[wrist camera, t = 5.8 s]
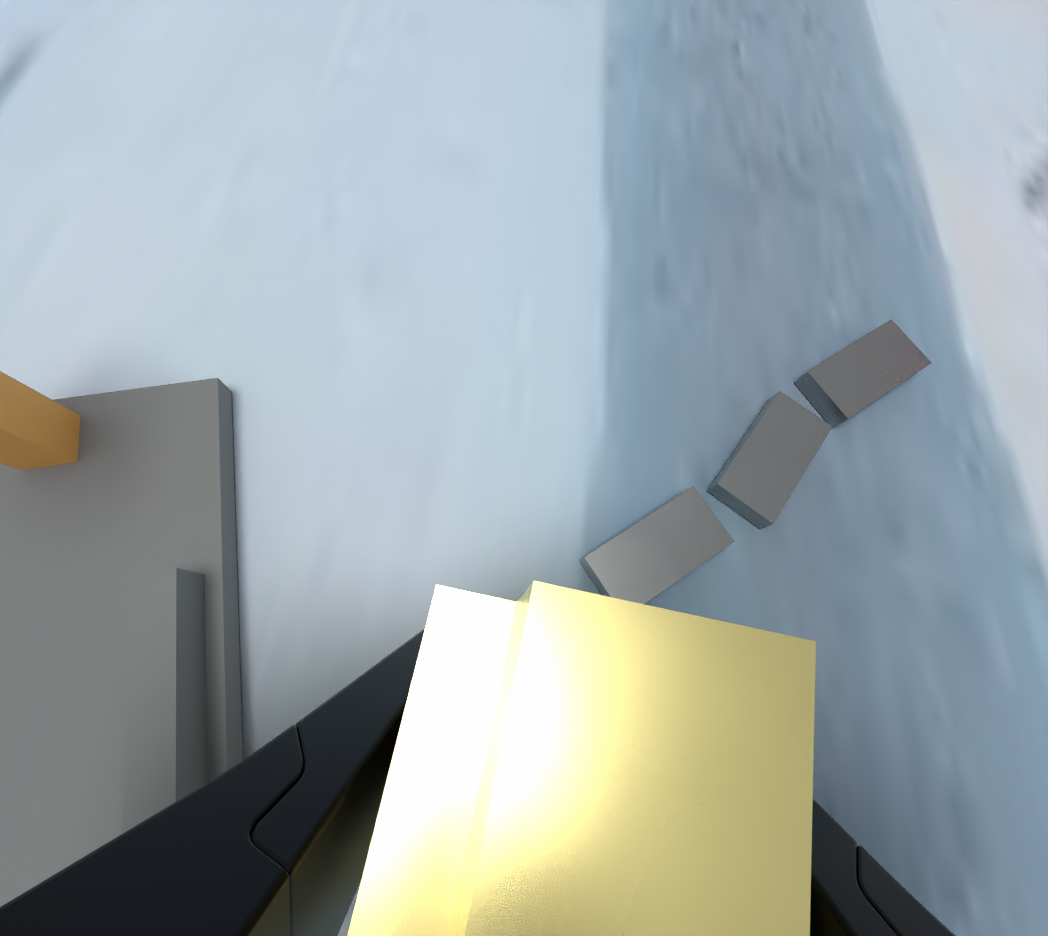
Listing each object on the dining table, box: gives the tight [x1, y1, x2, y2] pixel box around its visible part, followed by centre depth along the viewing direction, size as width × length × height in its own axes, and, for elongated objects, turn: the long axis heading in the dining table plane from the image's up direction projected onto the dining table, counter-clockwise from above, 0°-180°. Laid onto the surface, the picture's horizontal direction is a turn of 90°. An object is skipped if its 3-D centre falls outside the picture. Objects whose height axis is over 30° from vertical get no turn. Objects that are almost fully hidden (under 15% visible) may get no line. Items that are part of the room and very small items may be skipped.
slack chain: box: [580, 320, 931, 604], centre depth 19 cm, size 4×16×1 cm, turn 132°
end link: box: [347, 581, 816, 936], centre depth 10 cm, size 4×4×13 cm
